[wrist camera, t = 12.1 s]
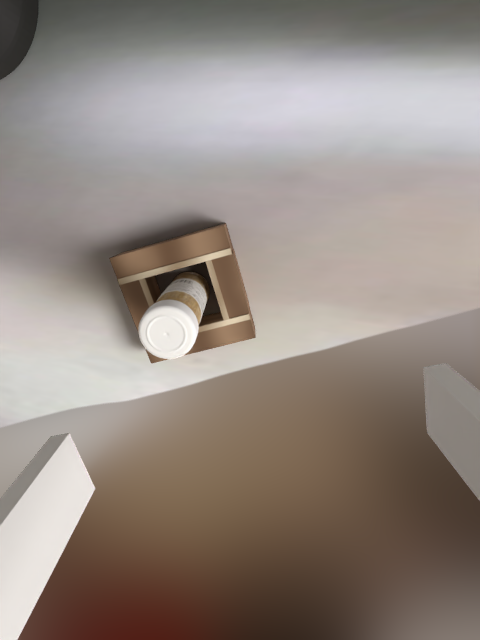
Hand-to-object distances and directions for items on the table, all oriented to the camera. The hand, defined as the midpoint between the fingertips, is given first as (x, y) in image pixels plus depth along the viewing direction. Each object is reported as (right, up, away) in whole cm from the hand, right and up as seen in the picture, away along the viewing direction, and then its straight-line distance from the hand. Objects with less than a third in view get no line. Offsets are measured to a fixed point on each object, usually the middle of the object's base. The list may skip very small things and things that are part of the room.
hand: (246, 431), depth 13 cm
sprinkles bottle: (-6, +8, +27) cm, 29 cm away
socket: (-6, +7, +27) cm, 28 cm away
